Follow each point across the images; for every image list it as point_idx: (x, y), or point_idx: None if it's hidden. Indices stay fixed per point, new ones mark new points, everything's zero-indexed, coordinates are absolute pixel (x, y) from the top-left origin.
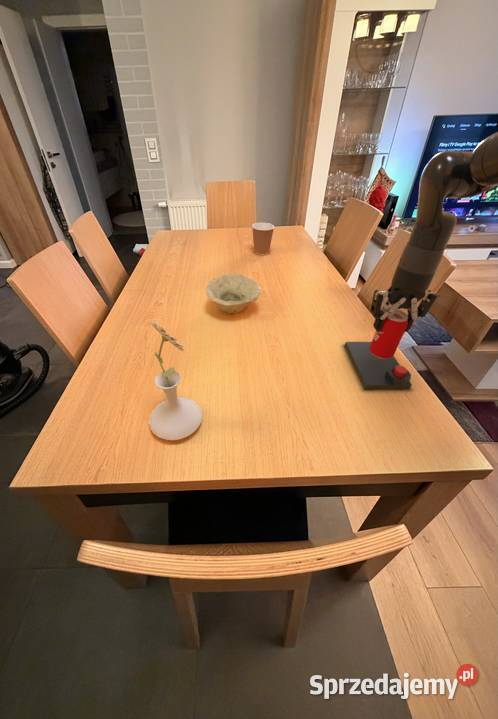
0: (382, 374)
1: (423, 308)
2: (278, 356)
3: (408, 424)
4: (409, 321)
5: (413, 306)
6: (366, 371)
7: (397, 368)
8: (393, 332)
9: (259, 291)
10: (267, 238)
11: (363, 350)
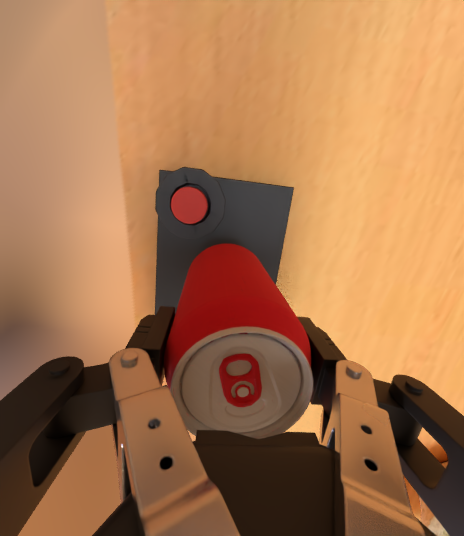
0: (227, 222)
1: (38, 432)
2: (429, 324)
3: (235, 37)
4: (161, 342)
5: (175, 454)
6: (265, 240)
7: (199, 210)
8: (265, 287)
9: (435, 530)
10: None
11: None
